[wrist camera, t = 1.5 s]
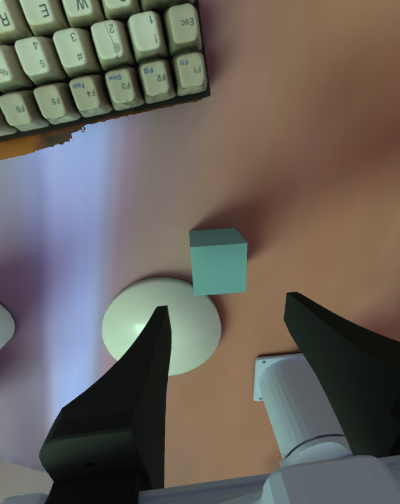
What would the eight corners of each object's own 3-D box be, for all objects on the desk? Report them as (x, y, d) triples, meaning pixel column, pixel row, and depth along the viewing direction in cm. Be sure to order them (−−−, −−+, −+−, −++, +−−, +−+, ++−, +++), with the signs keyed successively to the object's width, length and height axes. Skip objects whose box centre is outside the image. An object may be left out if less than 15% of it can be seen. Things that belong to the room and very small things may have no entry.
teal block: (234, 227, 21) (247, 243, 17) (234, 268, 23) (245, 291, 19) (189, 230, 21) (190, 247, 17) (192, 271, 23) (193, 296, 18)
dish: (218, 272, 23) (220, 278, 22) (220, 362, 28) (221, 370, 27) (93, 282, 22) (88, 288, 21) (118, 372, 27) (115, 380, 26)
